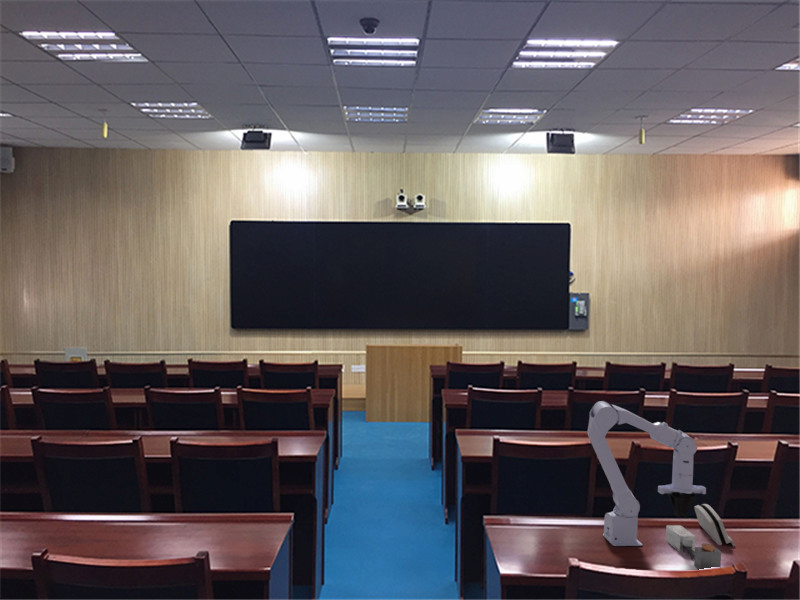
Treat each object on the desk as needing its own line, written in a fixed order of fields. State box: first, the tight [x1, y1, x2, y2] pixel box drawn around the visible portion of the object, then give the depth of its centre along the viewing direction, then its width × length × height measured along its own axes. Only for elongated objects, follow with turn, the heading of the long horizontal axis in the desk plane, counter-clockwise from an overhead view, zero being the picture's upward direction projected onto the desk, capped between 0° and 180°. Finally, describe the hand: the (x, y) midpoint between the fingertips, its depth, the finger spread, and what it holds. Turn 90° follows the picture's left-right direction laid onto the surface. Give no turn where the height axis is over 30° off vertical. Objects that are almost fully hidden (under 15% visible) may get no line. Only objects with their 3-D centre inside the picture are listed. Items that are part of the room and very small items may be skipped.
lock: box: [665, 524, 696, 553], centre depth 180 cm, size 8×5×5 cm, turn 4°
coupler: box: [687, 543, 722, 570], centre depth 170 cm, size 6×11×6 cm, turn 4°
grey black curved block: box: [693, 503, 736, 547], centre depth 190 cm, size 17×5×10 cm, turn 172°
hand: (680, 516), depth 181 cm, fingers closed
